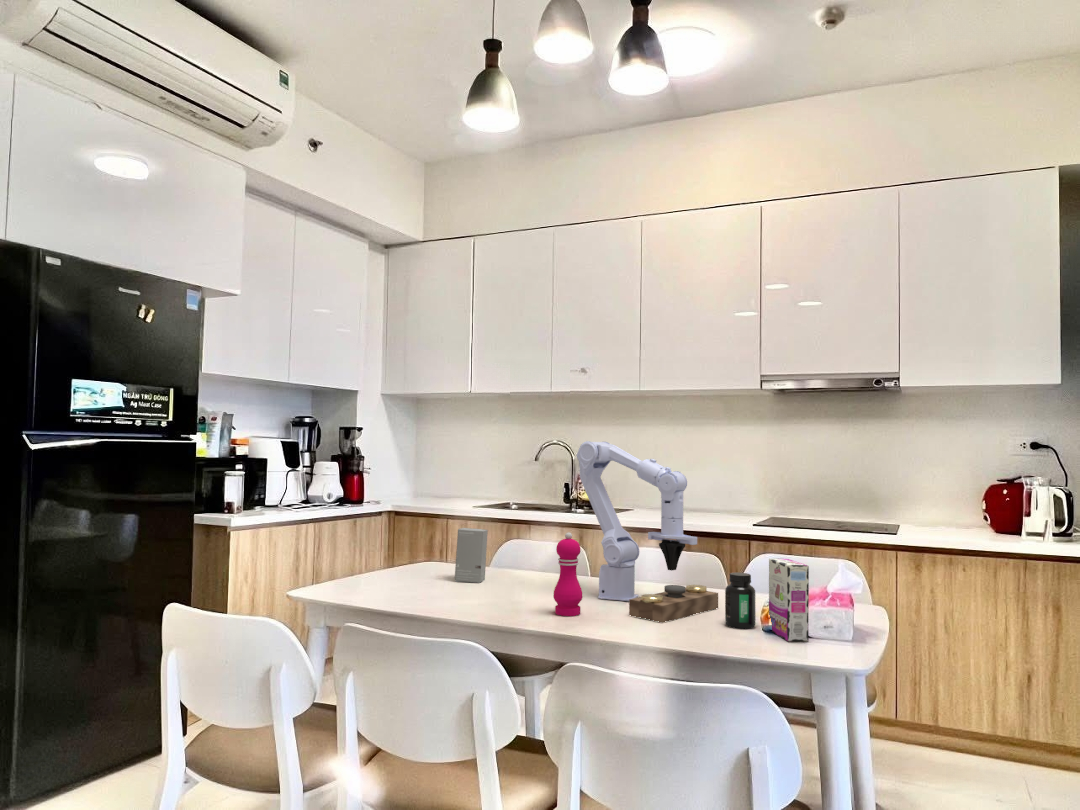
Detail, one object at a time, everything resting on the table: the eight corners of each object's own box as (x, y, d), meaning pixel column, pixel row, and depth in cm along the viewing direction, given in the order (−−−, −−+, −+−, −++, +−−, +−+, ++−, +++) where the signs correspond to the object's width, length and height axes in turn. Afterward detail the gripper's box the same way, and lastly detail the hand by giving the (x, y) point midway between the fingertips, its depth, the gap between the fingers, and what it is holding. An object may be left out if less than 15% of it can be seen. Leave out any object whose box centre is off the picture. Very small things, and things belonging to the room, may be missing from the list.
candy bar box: (810, 642, 162) (810, 565, 162) (787, 642, 161) (787, 565, 162) (788, 629, 173) (788, 557, 174) (767, 629, 172) (767, 557, 173)
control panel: (662, 623, 177) (662, 605, 178) (629, 615, 185) (629, 599, 185) (718, 608, 194) (718, 592, 194) (685, 602, 201) (685, 587, 201)
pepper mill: (585, 611, 188) (586, 531, 189) (577, 618, 182) (578, 534, 183) (558, 609, 191) (559, 530, 192) (549, 615, 184) (550, 533, 185)
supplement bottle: (750, 630, 171) (750, 577, 172) (721, 626, 175) (721, 574, 175) (759, 625, 177) (758, 573, 177) (730, 621, 180) (730, 570, 181)
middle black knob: (677, 609, 186) (677, 589, 186) (660, 605, 189) (660, 586, 190) (689, 606, 189) (689, 587, 190) (672, 603, 193) (672, 584, 193)
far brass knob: (699, 608, 192) (699, 589, 193) (682, 605, 196) (682, 586, 196) (710, 605, 196) (710, 586, 196) (693, 602, 200) (693, 584, 200)
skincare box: (454, 582, 227) (455, 529, 227) (460, 578, 234) (461, 526, 235) (481, 583, 225) (482, 530, 226) (487, 579, 232) (488, 527, 233)
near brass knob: (653, 619, 179) (653, 599, 179) (636, 615, 183) (636, 595, 183) (666, 616, 183) (667, 596, 183) (649, 612, 186) (649, 593, 187)
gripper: (640, 516, 200) (640, 567, 200) (685, 520, 190) (685, 575, 189) (657, 514, 205) (657, 565, 204) (702, 519, 194) (702, 572, 194)
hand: (671, 569), depth 197 cm, fingers closed
